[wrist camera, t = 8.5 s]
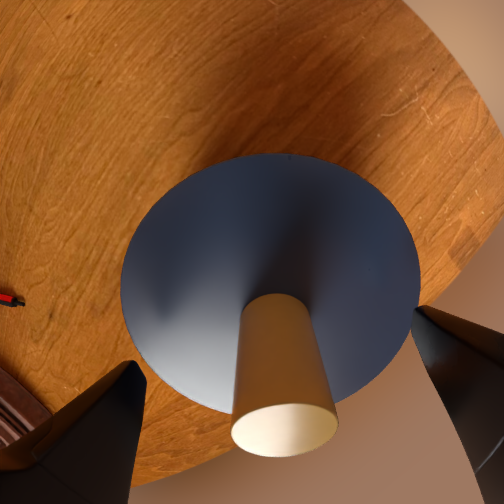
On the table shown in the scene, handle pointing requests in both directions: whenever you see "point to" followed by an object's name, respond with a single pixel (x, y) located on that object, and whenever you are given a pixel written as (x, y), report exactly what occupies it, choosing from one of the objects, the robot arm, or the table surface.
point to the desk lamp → (17, 410)
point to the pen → (10, 301)
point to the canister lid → (271, 293)
